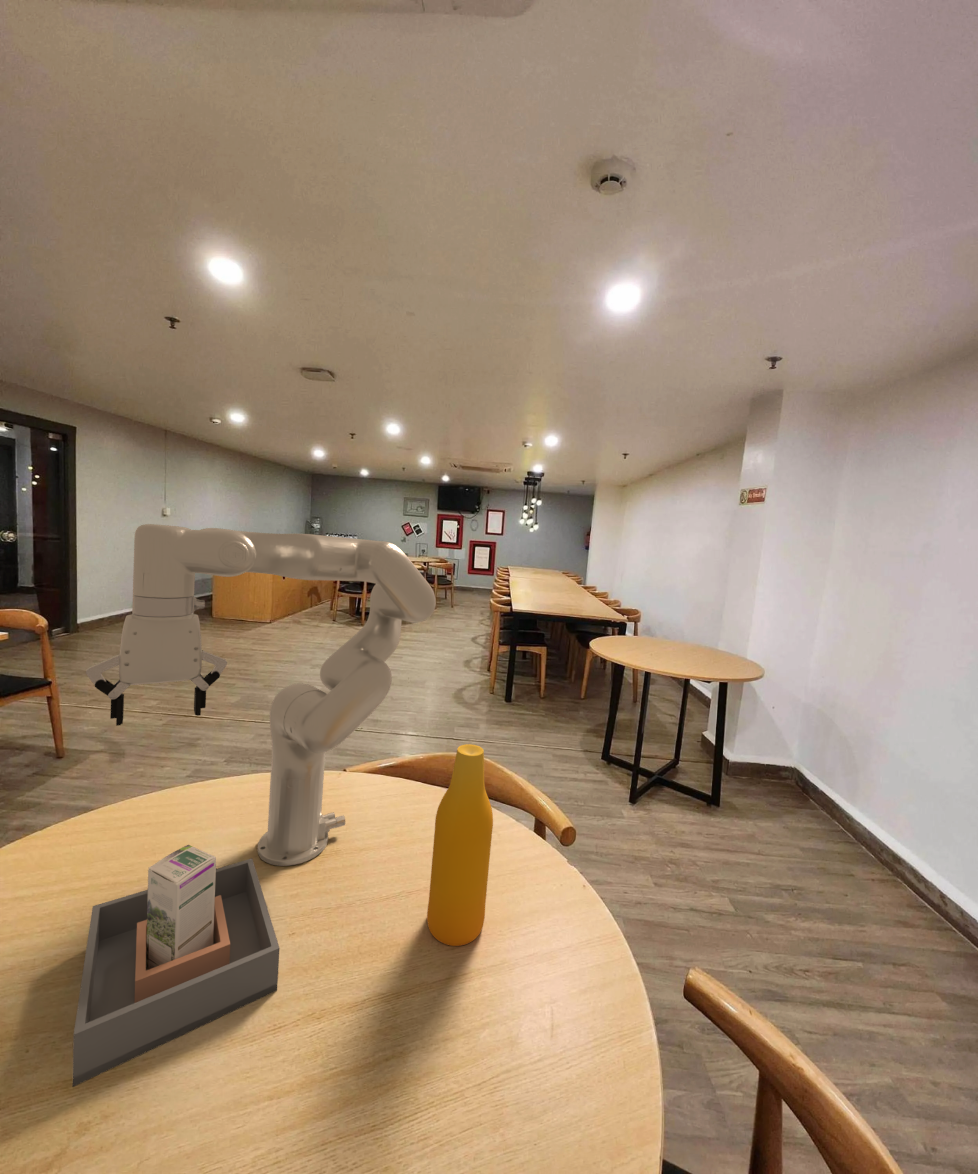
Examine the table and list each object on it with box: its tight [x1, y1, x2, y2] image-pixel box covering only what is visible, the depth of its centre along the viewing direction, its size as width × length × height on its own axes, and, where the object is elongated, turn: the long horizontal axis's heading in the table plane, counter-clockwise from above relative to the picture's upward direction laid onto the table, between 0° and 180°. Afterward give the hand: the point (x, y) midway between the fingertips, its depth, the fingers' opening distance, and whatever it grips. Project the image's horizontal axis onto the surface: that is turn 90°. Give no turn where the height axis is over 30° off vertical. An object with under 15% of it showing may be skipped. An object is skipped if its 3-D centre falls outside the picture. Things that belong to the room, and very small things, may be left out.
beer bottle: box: [426, 743, 494, 947], centre depth 72 cm, size 9×9×29 cm
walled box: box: [72, 857, 281, 1088], centre depth 61 cm, size 20×20×6 cm
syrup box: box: [146, 844, 217, 970], centre depth 61 cm, size 6×6×14 cm
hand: (160, 717), depth 70 cm, fingers open, 9 cm apart
